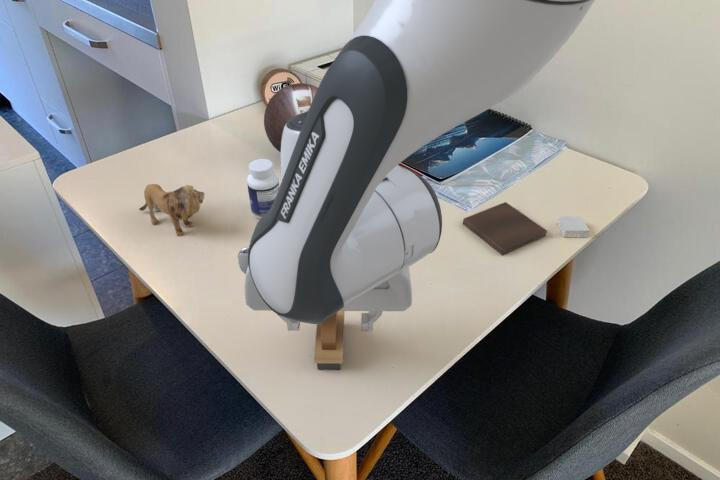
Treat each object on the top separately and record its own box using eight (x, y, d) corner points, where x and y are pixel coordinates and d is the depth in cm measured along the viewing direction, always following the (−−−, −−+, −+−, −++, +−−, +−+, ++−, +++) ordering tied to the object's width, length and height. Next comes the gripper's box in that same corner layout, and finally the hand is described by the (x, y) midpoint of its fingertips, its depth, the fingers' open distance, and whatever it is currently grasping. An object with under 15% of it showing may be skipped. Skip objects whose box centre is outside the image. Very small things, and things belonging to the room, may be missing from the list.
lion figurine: (215, 225, 91) (206, 181, 85) (196, 243, 87) (185, 198, 81) (150, 204, 95) (137, 161, 90) (128, 220, 92) (114, 176, 86)
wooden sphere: (286, 180, 102) (279, 109, 93) (256, 148, 112) (247, 80, 103) (352, 161, 108) (352, 91, 99) (318, 132, 118) (315, 66, 109)
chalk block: (587, 237, 89) (589, 230, 88) (563, 237, 89) (565, 230, 88) (579, 223, 92) (581, 216, 91) (556, 223, 92) (558, 216, 91)
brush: (343, 371, 67) (342, 341, 63) (314, 370, 67) (312, 341, 63) (344, 322, 74) (344, 293, 70) (319, 321, 73) (317, 292, 70)
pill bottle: (250, 205, 96) (243, 158, 90) (279, 201, 97) (274, 154, 91) (252, 222, 92) (245, 174, 85) (283, 218, 93) (278, 170, 86)
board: (545, 236, 89) (547, 230, 88) (502, 255, 85) (503, 250, 84) (504, 207, 96) (505, 201, 95) (462, 224, 92) (463, 218, 91)
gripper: (230, 262, 57) (246, 345, 65) (418, 263, 57) (409, 346, 65) (240, 227, 62) (254, 309, 70) (413, 228, 62) (406, 310, 70)
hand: (330, 327), depth 68 cm, fingers open, 8 cm apart
